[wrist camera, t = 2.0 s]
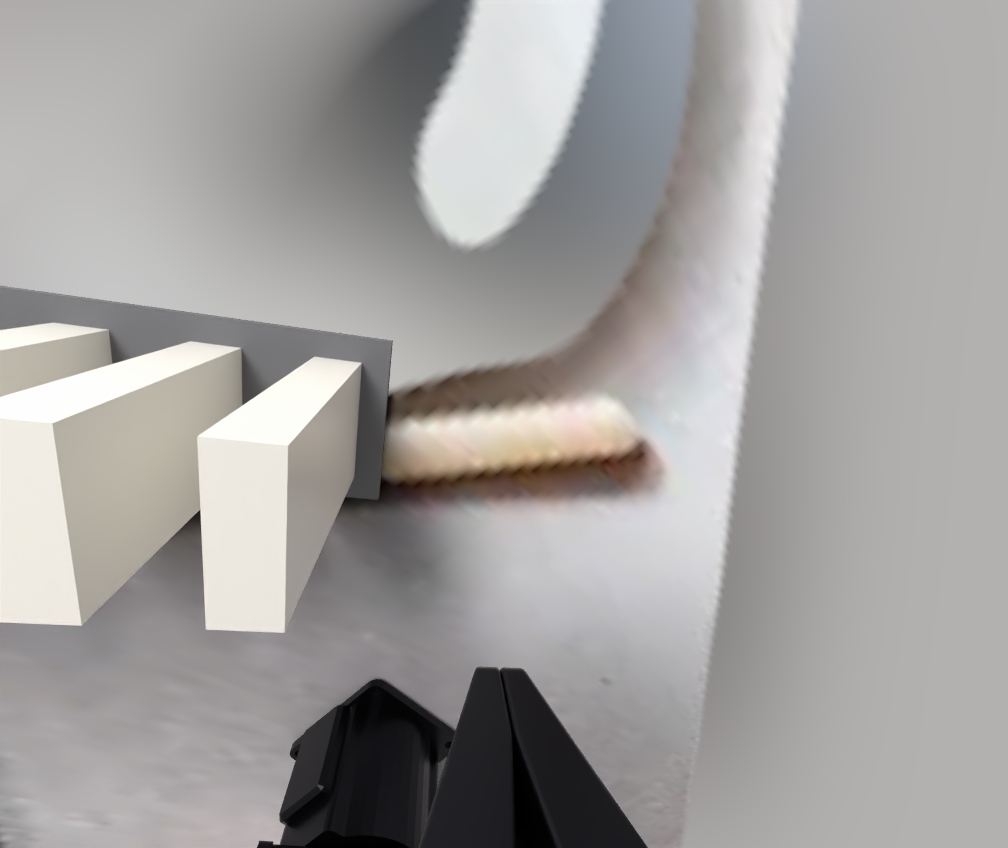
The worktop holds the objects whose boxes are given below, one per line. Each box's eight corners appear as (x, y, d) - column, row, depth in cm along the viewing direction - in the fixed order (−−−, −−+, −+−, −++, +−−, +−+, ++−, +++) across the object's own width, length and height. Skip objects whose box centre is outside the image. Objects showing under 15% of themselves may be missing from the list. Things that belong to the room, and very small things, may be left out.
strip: (392, 340, 19) (391, 341, 18) (379, 496, 21) (378, 499, 20) (-295, 244, 15) (-309, 243, 15) (-227, 443, 17) (-238, 446, 17)
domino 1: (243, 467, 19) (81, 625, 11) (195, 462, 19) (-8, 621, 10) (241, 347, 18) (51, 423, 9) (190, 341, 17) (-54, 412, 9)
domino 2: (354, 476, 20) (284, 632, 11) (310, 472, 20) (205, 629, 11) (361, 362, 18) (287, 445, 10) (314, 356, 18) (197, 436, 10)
